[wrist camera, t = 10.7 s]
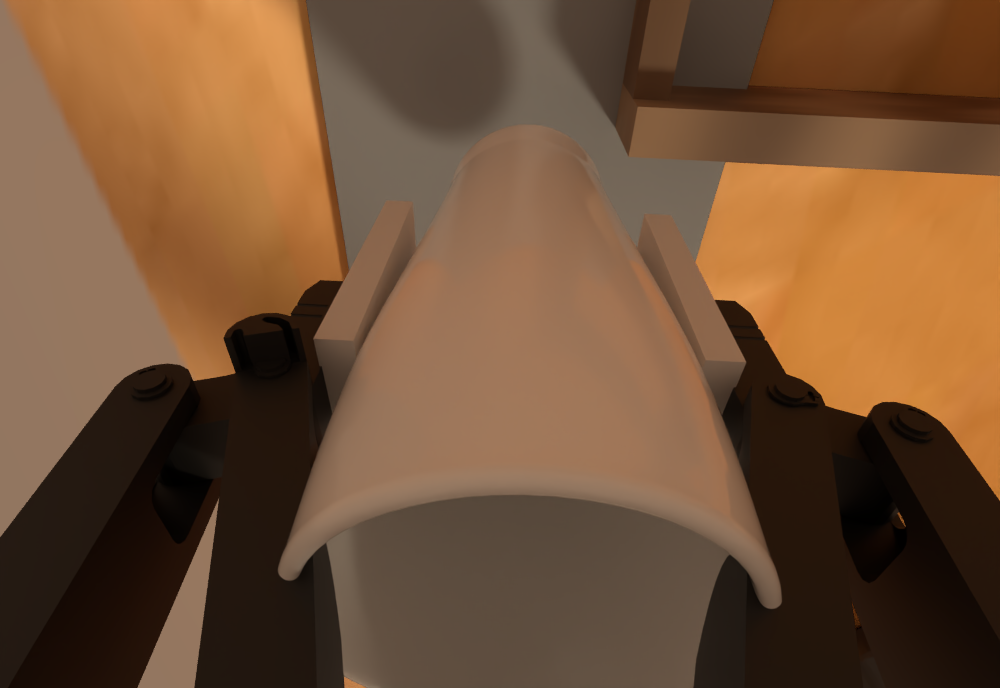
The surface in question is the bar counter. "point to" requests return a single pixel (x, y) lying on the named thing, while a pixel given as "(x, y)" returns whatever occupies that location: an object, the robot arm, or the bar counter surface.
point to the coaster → (507, 96)
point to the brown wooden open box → (791, 116)
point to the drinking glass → (526, 451)
